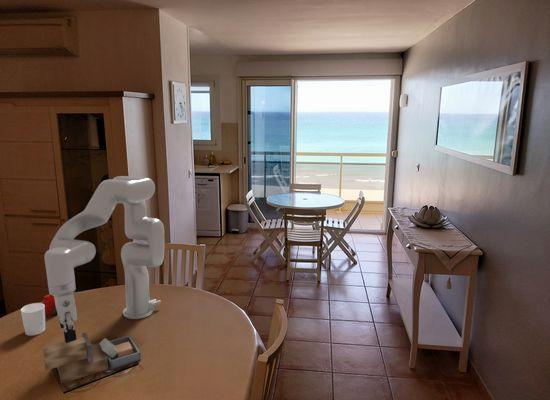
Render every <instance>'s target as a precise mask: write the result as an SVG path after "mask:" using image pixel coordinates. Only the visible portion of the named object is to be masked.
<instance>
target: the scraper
mask: <svg viewBox="0 0 550 400" xmlns="http://www.w3.org/2000/svg"><path fill="white" fill-rule="evenodd" d="M81 333H82V334H81V336H82V337H79V338H76V340H75V341H72V342H68V343H65V341H63V342H60V343H57V344H52V345H49V346H46V347H42V353H43V361H44V368H45V371H48V370H51V369H54V368H57V367H59V366H62V365H65V364H69V363H72V362H76V361H79V360H82V359H86V358H87V359H88V362H91V361H93V359H92V346H91V345H92V343H91V339H89V335H88V334H87V332H81Z"/></svg>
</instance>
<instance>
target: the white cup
mask: <svg viewBox="0 0 550 400" xmlns="http://www.w3.org/2000/svg"><path fill="white" fill-rule="evenodd" d="M20 313H21V318H22V319H21V320H22V324H23V328H24V333H25V335H26V336H29V337H30V336H37V335H40V334H42V333H43V332H45V330H46V316H45V305H44V304H42V302H34V303H29V304H26V305H24V306H22V308H20Z"/></svg>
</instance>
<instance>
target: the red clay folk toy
mask: <svg viewBox="0 0 550 400" xmlns="http://www.w3.org/2000/svg"><path fill="white" fill-rule="evenodd" d="M41 303H42V304H44V305H45V317H54V316H57V315H58V313H57V310H56V305H55V298H54V296H53V295H50V294H49V293H48V294H47V295H44V296H43V299H42V302H41Z"/></svg>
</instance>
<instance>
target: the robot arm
mask: <svg viewBox="0 0 550 400" xmlns="http://www.w3.org/2000/svg"><path fill="white" fill-rule="evenodd" d="M155 191H156V185H155V182H154V180H152V179H151V178H150V177H142V176H130V175H129V176H127V175H118V176H114V177H113V179H112V178H111V179H105V180H103V181H101V182H100V184H99V185H98V186H97V188H96V190H95V191H94V193H93V194H92V197H91V198H90V200H89V202H88V203H87V205H86V206H85V209H84V210H83V211H81V212H80V213H78V214H76V215H75V216H73V217H71V218H70V219H68V220H67V221H65V223H63V225H61V226H60V228H59V229H58V231H57V232H56V233H55V235H54V237H53V238H52V240H51V242H50V245H49V249H47V250H46V252H45V253H44V255H43V256H44V257H43V258H44V263H45V265H44V266H45V270H46V271H45V272H46V279H47V286H48V292H49V293H48V295H49V294H50V295H53V296H54V298H55V305H56V310H57V313H58V314H57V317H58V319H59V325H60V329H64V331H63V336H64V342H65V343H68V342H72V341H75V340H76V339H77V333H76V328H75V324H74V323H75V322H77V321H78V320H79V319H78V313H77V306H76V300H75V294H74V292H75V291H76V290H77V287H76V278H75V270H74V269H75V268H76V267H80V266H82V265H85V264H87V263H89V262H91V261H92V260H93V259H94V258H95V256H96V252H97V249H96V246H95V245H94V244H93V243H92V242H90V241H88V240H81V239H75V238H76V237H77V236H79V235H80V234H81V233H83V232H84V231H88V230H90V229H93V228H97V227H100V226H102V225H105V224H107V223H108V221H109V219H110V217H111V216H112V215H113V212H114V210H115V208H116V206H117V204H123V207H124V233H125V236H126V237H127V238H128V239H132V240H137V241H129V242H127V243H125V244H124V245H123V246H122V248H121V250H120V257H121V262H122V265H123V271H124V288H125V305H126V307H125V308H124V309H123V310H122V316H123V317H124V318H126V319H129V320H139V319H144V318H148V317H150V316H151V315H152V314H154V311H155V310H154V309H155V308H154V307H155V306H160V305H162V302H161V299H158V300H157V299H156V298H154V299H150V282H149V281H150V280H149V279H150V278H149V275H150V274H149V271H148V268H149V267H150V268H157V267H160V266H161V265H162V264H163V262H164V258H165V226H164V223H163V222H162V221H161V220H160V219H158V218H156V217H155V218H154V217H148V215H147V203H146V201H149V199H151V198H152V197H153V196H154V194H155ZM139 241H140V242H139ZM141 241H146V242H141ZM147 267H148V268H147Z"/></svg>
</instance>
